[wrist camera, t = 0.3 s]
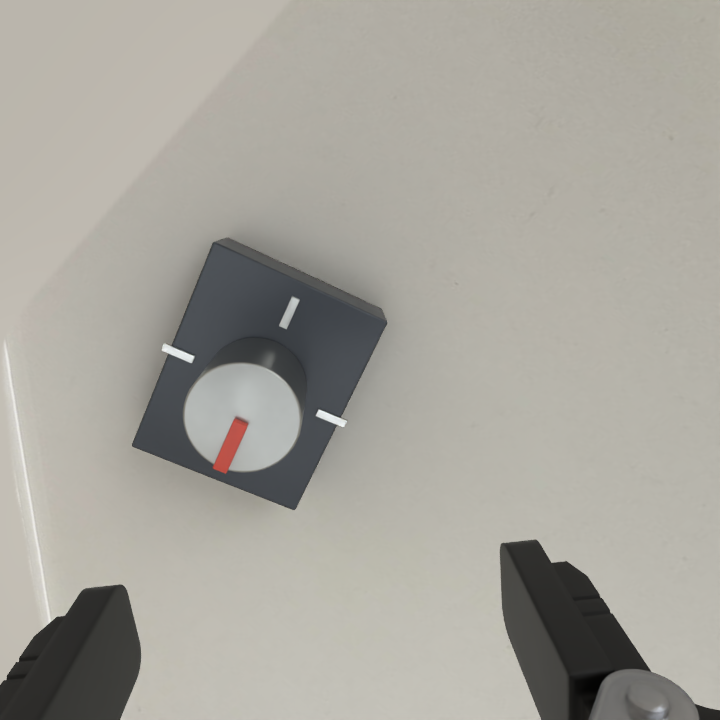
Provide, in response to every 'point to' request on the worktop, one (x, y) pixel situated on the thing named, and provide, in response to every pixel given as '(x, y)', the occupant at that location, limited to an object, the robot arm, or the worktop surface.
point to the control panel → (276, 323)
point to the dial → (246, 406)
